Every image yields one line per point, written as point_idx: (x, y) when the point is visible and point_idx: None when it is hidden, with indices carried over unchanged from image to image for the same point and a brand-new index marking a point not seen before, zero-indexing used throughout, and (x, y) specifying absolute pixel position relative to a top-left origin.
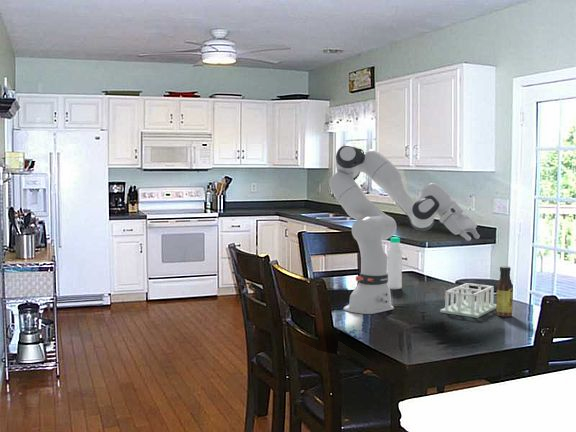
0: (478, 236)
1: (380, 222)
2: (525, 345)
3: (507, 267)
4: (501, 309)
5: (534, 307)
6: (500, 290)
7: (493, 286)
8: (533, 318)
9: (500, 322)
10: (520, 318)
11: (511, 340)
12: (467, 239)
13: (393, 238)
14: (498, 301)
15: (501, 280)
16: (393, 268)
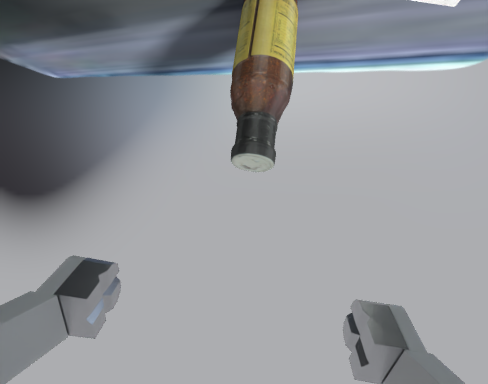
0: (345, 330)
1: None
2: (48, 75)
3: (239, 168)
4: (240, 19)
5: (440, 67)
6: (233, 71)
7: (446, 5)
8: None
9: (171, 8)
10: None
11: (46, 53)
12: (64, 275)
13: None
14: (241, 29)
15: (236, 106)
16: None
